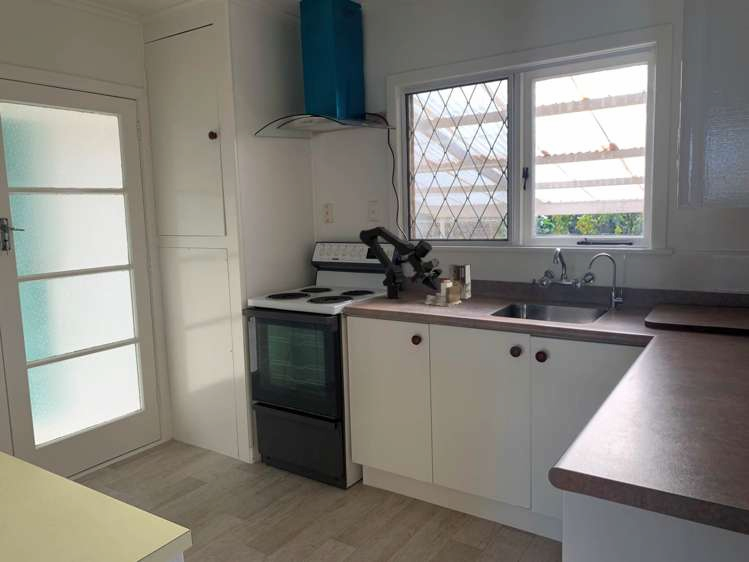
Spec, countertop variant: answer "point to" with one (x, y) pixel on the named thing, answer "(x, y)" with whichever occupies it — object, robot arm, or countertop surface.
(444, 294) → the white shaker
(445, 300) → the mount
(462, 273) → the coffee box
